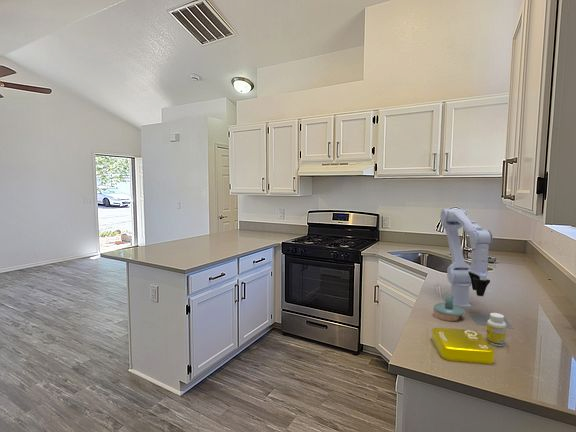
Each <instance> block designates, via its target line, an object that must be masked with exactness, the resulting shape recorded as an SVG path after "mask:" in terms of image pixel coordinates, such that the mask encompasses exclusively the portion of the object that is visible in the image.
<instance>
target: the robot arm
mask: <svg viewBox="0 0 576 432" xmlns="http://www.w3.org/2000/svg"><path fill="white" fill-rule="evenodd" d="M467 213H468V212H467V210H465V208H443V209H442V210H441V212H440V222H441V226H442V228H443V229H444V230H445V233H446V234H445V235H446V239H447V243H448V249H449V253H450V257H451V264H449V266H447V269H446V271H447V273H446V274H447V276H446V278H447V281H448V282H449V283H450V295H452V296H453V305H457V306H460V307H462V306H463V307H472V305H471V304H470V288H472V290H473V291H475V293H476V296H477V297H484V296H485V292H486V290H487V287H488V285H489V284H490V283H491V280H490V279H487V275H488V274H489V271H488V266H489V265H488V264H489V262H488V261H489V248H490V247H489V246H490V245H491V244H492V242H493V240H494V239H493V238H494V237H493V233H492V231H491V230H489V229H484V228H482V227H481V226H480V225H479V224H478V223H477V221H475V220H471V219H469V217H468V216H467V215H468V214H467ZM459 229H462V230H463V232H464V233H466V234H467V236H468V237H469V239H468V240H469V243H470V249H471V259H470V260H471V261H470V265H469V264H468V263H467V262H465V258H464V253H463V250H462V244H461V240H460V235H459V231H458V230H459Z"/></svg>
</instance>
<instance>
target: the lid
mask: <svg viewBox="0 0 576 432" xmlns="http://www.w3.org/2000/svg"><path fill="white" fill-rule="evenodd" d="M434 310H435V311H436V312H438V313H441V314H444V315H449V316H459V317H460V316H463V315H465V309H464V308H463V307H462V306H461V305H453V296H452V295H451V294H446V295H445V300H444V302H440V303H439V302H438V303H435V304H434V305H433V311H434Z"/></svg>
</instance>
